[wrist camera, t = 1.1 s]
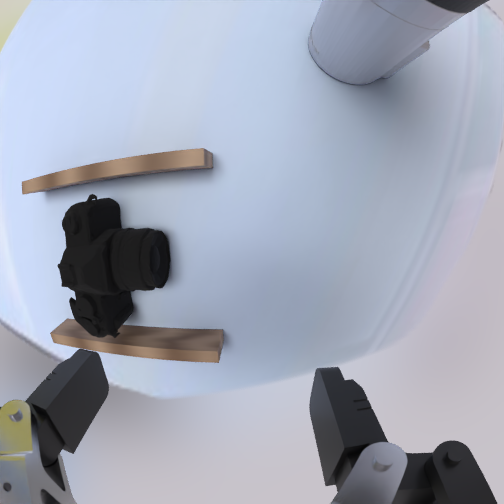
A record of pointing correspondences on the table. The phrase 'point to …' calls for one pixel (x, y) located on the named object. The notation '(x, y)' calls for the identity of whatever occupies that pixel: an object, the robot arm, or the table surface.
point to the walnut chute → (131, 337)
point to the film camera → (108, 264)
